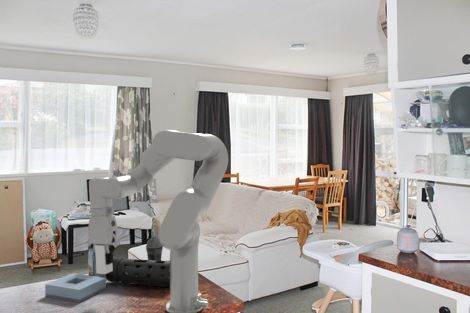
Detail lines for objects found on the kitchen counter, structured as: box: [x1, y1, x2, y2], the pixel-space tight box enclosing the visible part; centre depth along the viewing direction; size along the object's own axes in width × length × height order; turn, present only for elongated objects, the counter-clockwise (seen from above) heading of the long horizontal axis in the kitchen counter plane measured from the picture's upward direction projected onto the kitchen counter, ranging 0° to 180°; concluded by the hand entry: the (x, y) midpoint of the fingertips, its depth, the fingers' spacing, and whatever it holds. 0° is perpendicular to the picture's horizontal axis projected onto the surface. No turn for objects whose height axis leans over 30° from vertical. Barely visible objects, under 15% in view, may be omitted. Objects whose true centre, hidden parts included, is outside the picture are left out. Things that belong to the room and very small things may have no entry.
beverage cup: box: [145, 226, 164, 261], centre depth 177 cm, size 7×7×20 cm
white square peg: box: [95, 244, 113, 274], centre depth 147 cm, size 4×4×11 cm
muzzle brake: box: [102, 256, 170, 288], centre depth 163 cm, size 10×28×10 cm, turn 78°
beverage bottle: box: [87, 245, 103, 277], centre depth 170 cm, size 8×8×20 cm
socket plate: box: [44, 272, 107, 304], centre depth 155 cm, size 16×14×4 cm
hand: (104, 262), depth 147 cm, fingers closed on white square peg, 4 cm apart
